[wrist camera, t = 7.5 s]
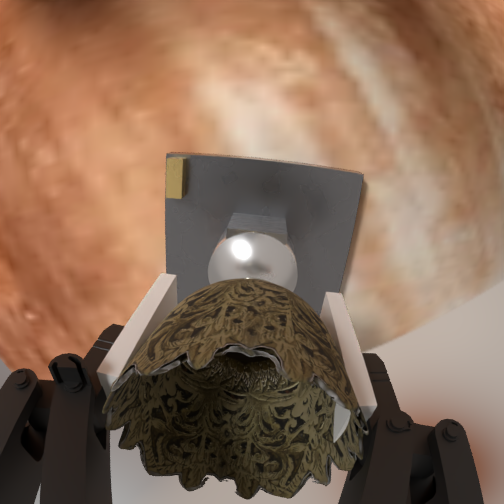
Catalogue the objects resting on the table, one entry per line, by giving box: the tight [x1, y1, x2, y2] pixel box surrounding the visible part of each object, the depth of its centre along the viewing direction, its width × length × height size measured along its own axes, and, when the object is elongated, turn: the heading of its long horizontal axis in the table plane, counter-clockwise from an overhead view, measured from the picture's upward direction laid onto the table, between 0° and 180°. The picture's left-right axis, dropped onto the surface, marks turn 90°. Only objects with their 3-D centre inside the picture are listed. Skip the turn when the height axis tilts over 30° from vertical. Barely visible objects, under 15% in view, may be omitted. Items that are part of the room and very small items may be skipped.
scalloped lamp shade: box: [102, 277, 369, 499], centre depth 10 cm, size 8×7×8 cm
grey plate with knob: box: [165, 152, 364, 317], centre depth 19 cm, size 12×12×4 cm
